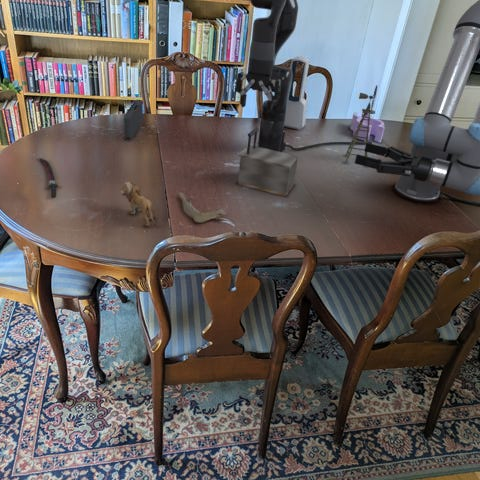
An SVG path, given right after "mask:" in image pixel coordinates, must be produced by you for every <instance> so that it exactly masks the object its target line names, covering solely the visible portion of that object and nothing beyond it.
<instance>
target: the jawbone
mask: <svg viewBox="0 0 480 480" xmlns="http://www.w3.org/2000/svg"><path fill="white" fill-rule="evenodd" d="M177 195H178V197H179V198H180V199H181V202H182V203H181V204H182V209H183V212H184V214H186V215H187V216H188V217H189V218H191V219H193V221H194V222H195V223H198V224H202V223H205V222H207V221H210V220H213V219H214V220H216V221H219V220H220V215H223V216H224V215H228V213H227V212H226V211H224V210H220V209H217V210H212V211H209V212H201V211H199V210H198V209H197V208H195V206H193V203H192V202H191V201H188V200H187V197H186V195H185V194H184V192H183V191H181V192H177Z"/></svg>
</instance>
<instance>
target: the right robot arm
mask: <svg viewBox="0 0 480 480" xmlns="http://www.w3.org/2000/svg"><path fill="white" fill-rule="evenodd" d="M452 38H453V42H452V45H451V47H450V50H449V52H448V55H447V57H446V59H445V63H444V65H443V67H442V70H441V72H440V75H439V78H438V81H437V83H436V86H435V87H434V91H433V94H432V96H431V98H430V101H429V103H428V106H427V108H426V111H425V114H424V116H423V117H416V118H415V120H414V121H413V124H412V126H411V129H410V131H409V136H408V141H409V142H410V143H411V144H412V147H411V151H410V153H409V152H408V151H407V152H406V151H404V150H402V149H399V148H397V147H395V146H392V145H391V146H389V147H388V146H387V147H386V146H381V145H377V144H374V143H372V144H370V143H366V144H365V146H364V149H365V150H363V151H364V153H365V152H367V153H369V154H373V155H376V156H377V155H378V156H381V157H384V158H390V159H391V160H392V161H390V160H387V161H386V160H385V161H384V160H382V159H380V158H374V157H369V156H368V157H366V156H365V155H362V154H358V153H357V154H356V156H355V160H354V164H356V165H360V166H363V167H367V168H370V169H374V170H376V173H378V174H386V175H387V174H388V175H396V176H397V175H398V176H399V178H398V179H397V180H396V182H395V185H394V191H395V193H397V195H399V196H400V197H402V198H403V199H406V200H409V201H412V202H416V203H422V204H423V203H424V204H430V203H435V202H437V201H438V200H439V198H440V195H443V196H445V197H447V198H450V199H453V200H455V201H457V202H462V203H465V204H470V205H475V206H479V207H480V201H479V202H478V201H474V200H469V199H465V198H461V197H458V196H455V195H453V194H450V193H447V192H445V191H442V190H441V187H443V188H446V189H450V190H453V191H457V192H460V193H463V194H468V195H474V196H480V103H479V104H478V107H477V109H476V112H475V115H474V117H473V120H472V122H471V124H469V126H468V127H467V128H463V127H459V126H455V125H451V123H452V121H453V119H454V115H455V113H456V110H457V109H458V105H459V104H460V103H459V102H460V100H461V98H462V95H463V92H464V91H465V87H466V84H467V82H468V81H469V77H470V75H471V72H472V69H473V67H474V64H475V62H476V59H477V56H478V55H479V51H480V0H477V1H476V2H474V3H473V4H472V5H471V6H469V8H468V9H466V11H465V12H464V13H463V14H462V15H461V16H460V18H459V20H457V22H456V25H455V27H454V30H453V32H452Z"/></svg>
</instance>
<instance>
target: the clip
mask: <svg viewBox="0 0 480 480" xmlns="http://www.w3.org/2000/svg"><path fill="white" fill-rule="evenodd" d="M358 114H359V113H358V112H353V114H352V118H351V122H350V126H349V129H350V130H351V131H353V132H352V137H354V135H355V132H356V130H357V127H358V126H359V124H360V121H361V119H362V115H364V113H362V112H361V115H358ZM368 115H369V114H368ZM368 115H366V116H365V117H368ZM364 119H368V118H364ZM360 125H361V124H360ZM362 126H363V127H367V126H368V120H364V121H363V123H362ZM385 129H386V127H385V122H384V121H383V120H380V119H377V118H374V117H372V114H370V121H369V134H368V141H369V140H370V135H372V136H374V139H373V140H374V142H376V143H382V140H383V137H384V132H385ZM360 130H366V131H367V128H362V127H361V128H360ZM357 132H358V131H357ZM358 136H359V137H366V136H367V132H365V131H359V133H358ZM356 139H358V140H361V141H363V142H366V139H365V138H358V137H357V138H356Z"/></svg>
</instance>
